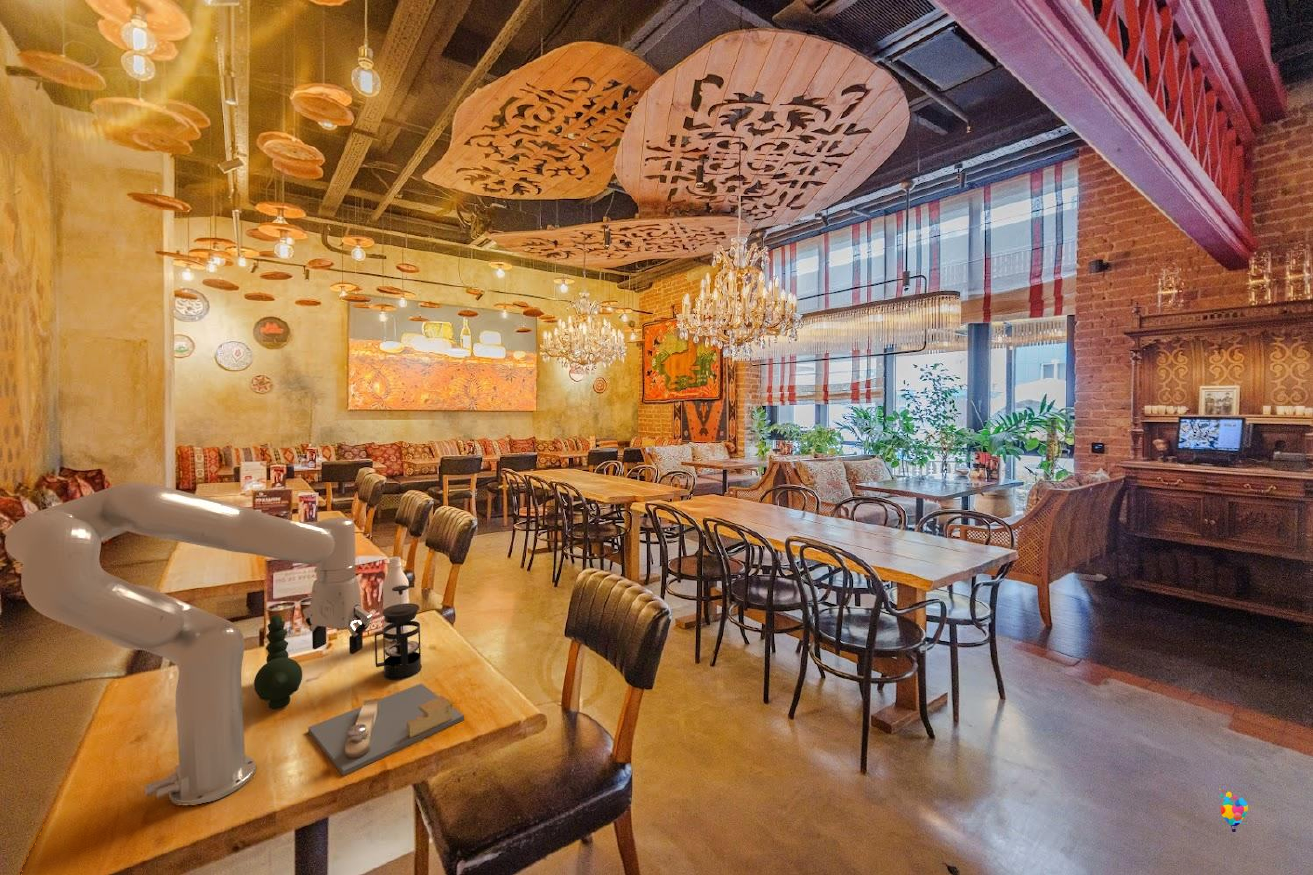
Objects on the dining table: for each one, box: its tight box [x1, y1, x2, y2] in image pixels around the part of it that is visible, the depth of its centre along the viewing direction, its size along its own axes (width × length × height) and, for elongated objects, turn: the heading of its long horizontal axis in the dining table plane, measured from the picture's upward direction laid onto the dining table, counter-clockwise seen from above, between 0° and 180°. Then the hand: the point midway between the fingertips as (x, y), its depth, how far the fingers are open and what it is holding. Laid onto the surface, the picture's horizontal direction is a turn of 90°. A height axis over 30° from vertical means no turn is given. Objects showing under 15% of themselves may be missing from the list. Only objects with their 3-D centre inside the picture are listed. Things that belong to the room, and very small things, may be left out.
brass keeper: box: [407, 695, 453, 739], centre depth 120 cm, size 10×4×4 cm, turn 138°
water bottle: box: [382, 556, 411, 643], centre depth 164 cm, size 7×7×25 cm
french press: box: [374, 585, 423, 681], centre depth 145 cm, size 12×9×23 cm
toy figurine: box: [253, 614, 303, 710], centre depth 133 cm, size 9×19×25 cm
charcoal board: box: [307, 683, 465, 777], centre depth 121 cm, size 25×21×1 cm
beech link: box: [345, 697, 380, 758], centre depth 117 cm, size 18×4×2 cm, turn 18°
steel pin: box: [348, 724, 366, 743], centre depth 110 cm, size 3×3×2 cm
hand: (337, 648), depth 122 cm, fingers open, 9 cm apart
